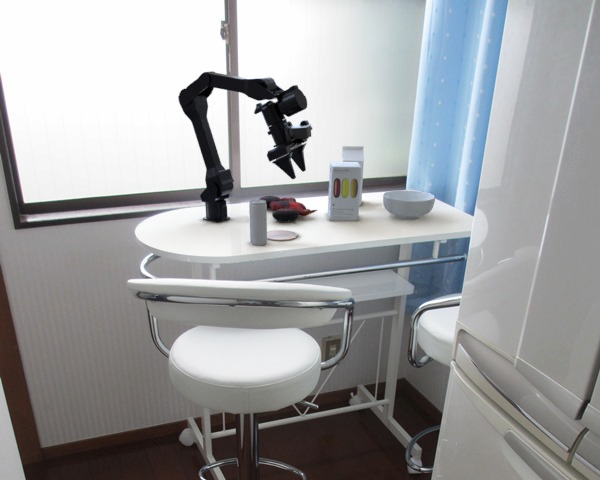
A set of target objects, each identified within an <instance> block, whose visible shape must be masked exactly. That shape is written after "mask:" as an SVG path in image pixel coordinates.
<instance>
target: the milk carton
mask: <svg viewBox="0 0 600 480" xmlns="http://www.w3.org/2000/svg"><path fill="white" fill-rule="evenodd" d="M341 149H342V150H341V162H358V163H359V165H360V166H361V182H360V198H359V206H362V200H363V199H362V198H363V181H364V161H365V158H364V156H365V155H364V146H359V145H357V146H355V145H342V147H341Z"/></svg>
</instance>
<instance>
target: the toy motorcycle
mask: <svg viewBox="0 0 600 480" xmlns="http://www.w3.org/2000/svg"><path fill="white" fill-rule="evenodd" d="M258 200H265V201H266V204H267V210H272V211H273V212H272V218H273V219H274V220H276V221H277V222H282V223H288V222H289V223H290V222H293V221H296V220H298V218H299V217H300V216H301V217H306V216H309V215H311V214H313V213H315V212H317V211H318V209H312V210H311V209H309V208H307V207H306V205H304V203H302V202H299V201H297V200H296V198H294V197H281V198H280V197H278V196H276V195H265V196H262V197H259V199H258Z"/></svg>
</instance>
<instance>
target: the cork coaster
mask: <svg viewBox="0 0 600 480" xmlns="http://www.w3.org/2000/svg"><path fill="white" fill-rule="evenodd" d="M297 238H298V234H297V233H296V232H295V231H291V230H283V229H282V230H277V229H276V230H270V231H267V241H268V240H269V241H272V242H273V241H275V242H286V241H293V240H295V239H297Z"/></svg>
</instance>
